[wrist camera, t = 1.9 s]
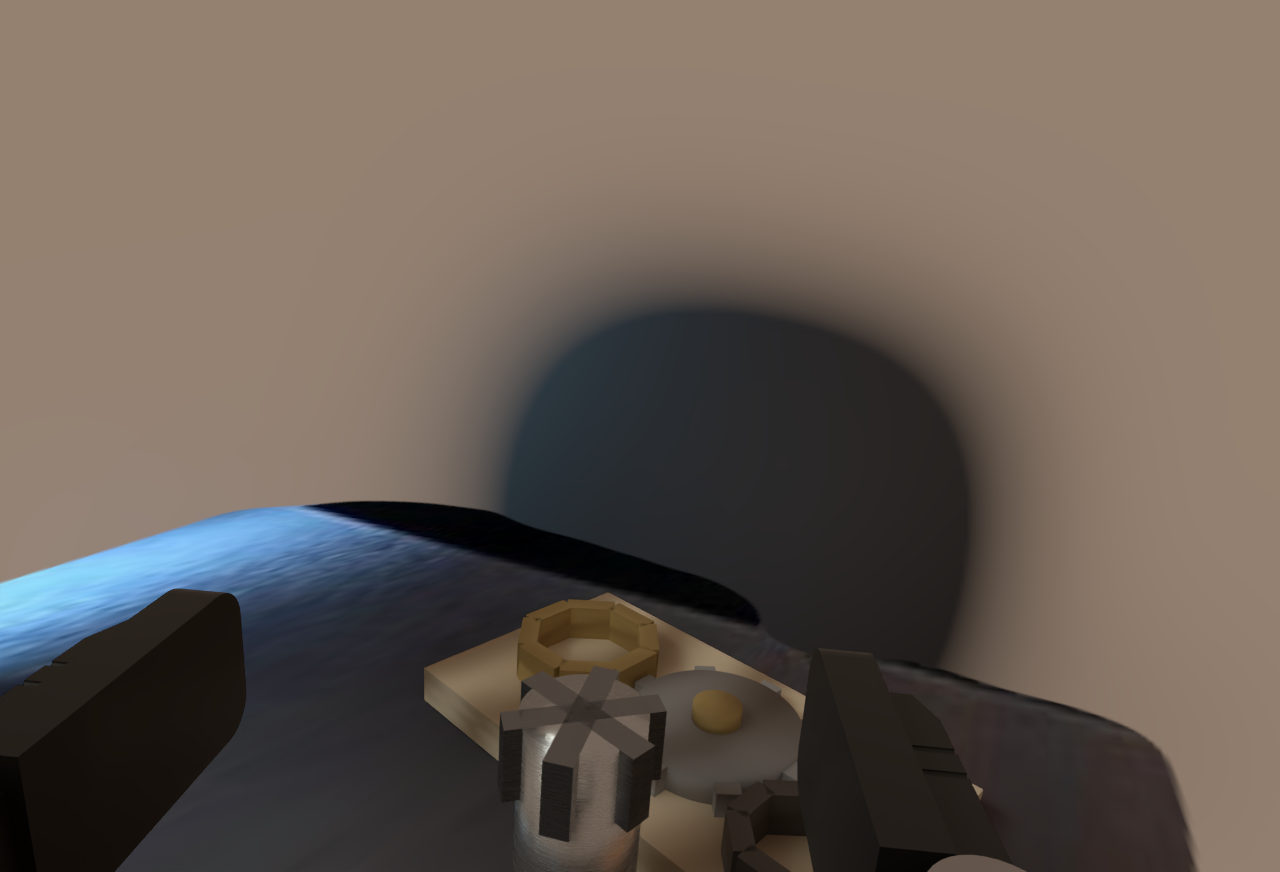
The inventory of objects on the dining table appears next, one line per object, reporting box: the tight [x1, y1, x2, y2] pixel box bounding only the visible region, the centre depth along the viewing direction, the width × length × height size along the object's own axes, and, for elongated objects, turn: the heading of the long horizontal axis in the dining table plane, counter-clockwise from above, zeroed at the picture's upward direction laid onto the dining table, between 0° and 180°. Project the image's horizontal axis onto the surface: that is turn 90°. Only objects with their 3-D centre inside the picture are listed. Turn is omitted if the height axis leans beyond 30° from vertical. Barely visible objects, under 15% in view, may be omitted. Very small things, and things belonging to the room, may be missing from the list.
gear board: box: [424, 593, 983, 872], centre depth 40 cm, size 25×14×4 cm, turn 47°
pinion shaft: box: [498, 666, 667, 872], centre depth 26 cm, size 5×5×12 cm
